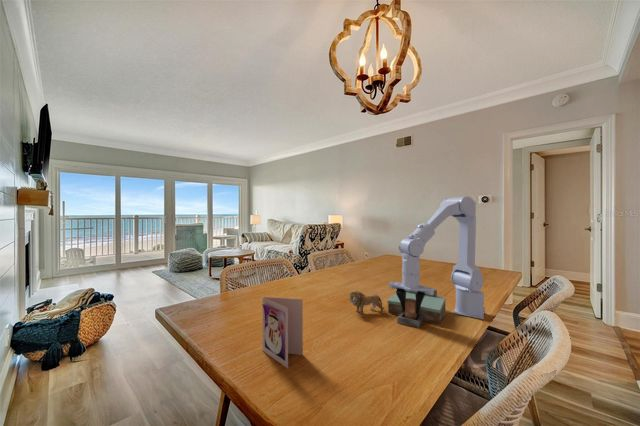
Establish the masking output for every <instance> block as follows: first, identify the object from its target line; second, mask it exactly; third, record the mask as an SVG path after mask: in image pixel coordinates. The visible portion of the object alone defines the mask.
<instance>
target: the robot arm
mask: <svg viewBox="0 0 640 426" xmlns="http://www.w3.org/2000/svg"><path fill="white" fill-rule="evenodd" d="M439 203H440V204H439V207H438V208H437V210H436V211H435V212H434V214H432V215H431V217H430V218H429V219H428V220H427V222H426V223H425V222H422V223H419V224H417V228H416V229H415V230H414V231H413V232H412V233H410V234H409V235H408V237H405V238H403V239H402V240H401V241H400V243H399V245H398V246H397V247H398V250H399V253H400V254H401V255H400V256H401V259H402V261H401V270H402V271H401V275H402V276H401V278H402V279H401V282H393V281H390V282H389V289H390V290H391V289H392V290H393V289H395V290H396V292H395V293H396V294H397V296H398V298H399V300H400V303H401V306H402V311H405V299H406V291H412V292H417V294H416V314H419V311H420V306H421V303H422V301H423V298H424V296H425V294H429V295H433V294H434V290H435V288H433V287H429V286H425V285H420V280H421V279H420V268H421V267H420V266H421V265H420V256H421V255H422V254H423V253H424V250H425V249H424V248H425V246H426V245H427V243H428V242H429V241H430V240H431V239H432V238H433V236H434V235H436V231H435V229H436V228H438V227H439V226H440V225H441V224H442V223H444V221H445V220H446V219H448V217H452V218H455V219H456V220H457V222H459V226H458V227H459V229H458V231H459V232H458V257H457V259H458V263H456V264H455V265H453V267H452V272H451V275H450V280H451V283H452V284H453V285H454V288H455V306H454V310H453V314H455V315H459V316H460V315H461V316H465V317H470V318H476V319H481V320H484V316H485V315H484V313H486V308H485V305H484V303H485V302H484V301H485V294H484V293H485V292H484V291H481V290H482V288H483V286H484V278H483V275H482V270H481V269H480V268H479V267H478V266H477V264H476V233H477V232H476V231H477V227H476V226H477V216H476V212H477V211H476V209H477V208H476V207H477V203H476V201H475V200H474V199H473V198H472V197H471V196H460V197H459V196H458V197H446V198H444V199H443V200H442V202H439Z"/></svg>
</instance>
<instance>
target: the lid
mask: <svg viewBox="0 0 640 426" xmlns="http://www.w3.org/2000/svg"><path fill="white" fill-rule="evenodd" d="M416 294H417V292H412V291H406V299H407V298H412V299H415V300H416ZM444 302H445V303H446V297H445V296H440V295H438V289H434V294H433V295H429V294H425V296H424V298H423V301H422V303H421V306H420V309H421V310H426V311H432V312H437V313H440V312H441V309H442V307H443V305H444ZM388 303H390V304H396V305H401V303H400V300H399V298H398V296H397V294H396V292H395V293H394V294H392V295H391V296H390V297H389V298H388V299H387V304H388Z"/></svg>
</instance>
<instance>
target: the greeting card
mask: <svg viewBox="0 0 640 426" xmlns="http://www.w3.org/2000/svg"><path fill="white" fill-rule="evenodd" d="M303 301H304V300H303V298H302V299H301V298H286V297H285V298H284V297H269V296H262V303H261V304H262V352H264V353H265V354H267V355H268V356H270V357H271V358H272V359H273V360H275V361H277V362H278V363H279V364H281V365H282V366H284V367H285V368H286V369H289V354H292V355H299V356H303V355H304V354H303V351H304V349H303V348H304V347H303V346H304V343H303V342H304V340H303V338H304V335H303V331H304V329H303V325H304V324H303V323H304V322H303V320H304V318H303V317H304V316H303V315H304V314H303V309H304V308H303V307H304V306H303Z"/></svg>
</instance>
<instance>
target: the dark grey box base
mask: <svg viewBox="0 0 640 426" xmlns="http://www.w3.org/2000/svg"><path fill="white" fill-rule="evenodd" d="M387 307H388V308H387V309H388V310H387V311H388V312H387V313H388V314H391V315H396V316H397V318H396V319H397V322H396V323H397V324H400V325H404V326H409V327H414V328H418V329H420V328H421V326H422V324H423V322H424V321H425V322H429V323H433V324H438V325H441V322H442V321H443V318H444V316H445V313H446V301H445V302H444V305H443V307H442V309H441V312H440V313H437V312H432V311H426V310H421V309H420V311H419V314H417V320H414V319H409V318H405V311H402V306H401V305H396V304H390V303H387Z"/></svg>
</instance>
